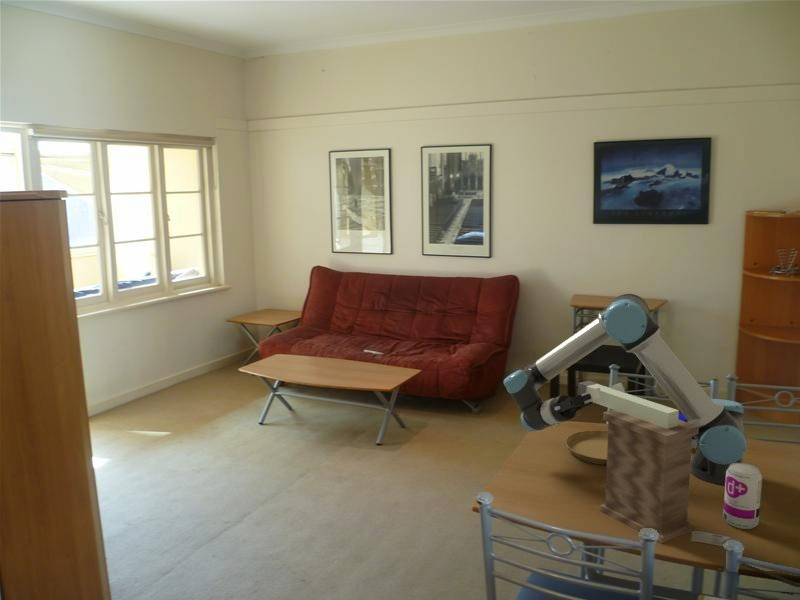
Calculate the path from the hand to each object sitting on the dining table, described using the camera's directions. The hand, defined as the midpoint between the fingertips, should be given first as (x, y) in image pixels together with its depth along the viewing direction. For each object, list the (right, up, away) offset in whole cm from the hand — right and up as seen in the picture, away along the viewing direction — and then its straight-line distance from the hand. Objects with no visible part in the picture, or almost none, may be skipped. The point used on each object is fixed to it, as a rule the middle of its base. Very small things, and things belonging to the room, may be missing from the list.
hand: (611, 390), depth 182 cm
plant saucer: (+9, -26, +39) cm, 48 cm away
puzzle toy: (+37, -24, +46) cm, 64 cm away
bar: (+3, -5, -3) cm, 7 cm away
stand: (+7, -34, -5) cm, 35 cm away
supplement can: (+31, -34, -7) cm, 47 cm away
